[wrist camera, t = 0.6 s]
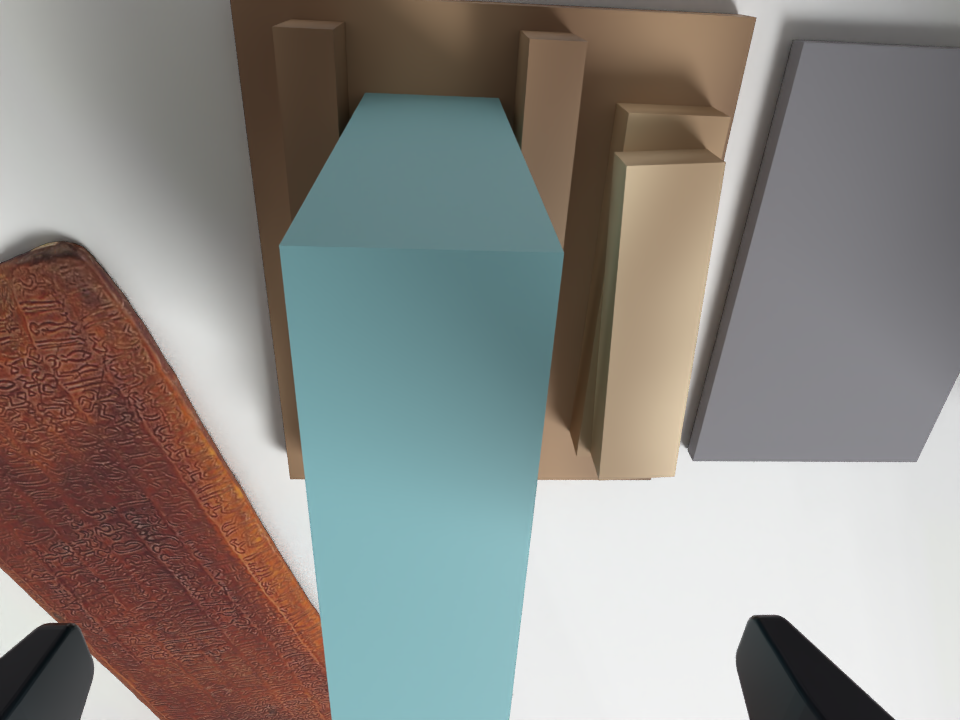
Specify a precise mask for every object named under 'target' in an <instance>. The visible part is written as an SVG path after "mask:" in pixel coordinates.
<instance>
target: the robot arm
mask: <svg viewBox="0 0 960 720" xmlns="http://www.w3.org/2000/svg"><path fill="white" fill-rule="evenodd" d="M736 667H737V672H738V676H739V680H740V684H741V688H742V692H743V696H744V699H745V703H746V707H747V711H748V715H749V719H750V720H895V719H894V718H893V717H892V716H891V715H889V714H888V713H887V712H886V711H885V710H884V709H883V708H882V707H881V706H880V705H879V704H878V703H876V702H875V701H874V700H873V699H872V698H871V697H870V696H869V695H868V694H867V693H866V692H865V691H863V690H862V689H861V688H860V687H859V686H858V685H857V684H856V683H855V682H854V681H853V680H852V679H850V678H849V677H848V676H847V675H846V674H845V673H844V672H843V671H842V670H841V669H840V668H839V667H837V666H836V665H835V664H834V663H833V662H832V661H831V660H830V659H829V658H828V657H827V656H826V655H824V654H823V653H822V652H821V651H820V650H819V649H818V648H817V647H816V646H815V645H814V644H812V643H811V642H810V641H809V640H808V639H807V638H806V637H805V636H804V635H803V634H802V633H801V632H799V631H798V630H797V629H796V628H795V627H794V626H793V625H792V624H791V623H790V622H789V621H787V620H786V619H785V618H783V617H781V616H779V615H754V616H752V617H751V618H749V620H748V622H747V624H746V627H745V630H744V633H743V635H742V638H741V641H740V643H739V646H738V649H737V653H736ZM93 674H94V663H93V659H92V656H91V654H90V651H89V649H88V646H87V644H86V641H85V639H84V636H83V634H82V631H81V629H80V627H79V626H78V625H76V624H75V623H47V624H43V625H41V626H39V627H38V628H36V629H35V630H33V631H32V632H31V633H30V634H29V635H27V636H26V637H25V638H24V639H23V640H21V641H20V642H19V643H18V644H17V645H15V646H14V647H13V648H12V649H11V650H9V651H8V652H7V653H6V654H5V655H3V656H2V657H1V658H0V720H80V718H81V715H82V712H83V709H84V706H85V702H86V699H87V696H88V693H89V690H90V686H91V683H92V680H93Z"/></svg>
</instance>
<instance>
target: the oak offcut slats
mask: <svg viewBox="0 0 960 720" xmlns="http://www.w3.org/2000/svg"><path fill="white" fill-rule="evenodd" d="M730 119H731V117H730V116H728V115H726V114H724V113H723V112H721V111H719V110H717V109H715V108H713V107H704V106H680V105H655V104H631V103H617V104H616V111H615V118H614V125H613V132H612V139H611V146H610V153H609V160H608V167H607V174H606V181H605V188H604V195H603V202H602V209H601V216H600V223H599V230H598V237H597V244H596V251H595V258H594V265H593V272H592V279H591V286H590V293H589V300H588V307H587V314H586V321H585V328H584V335H583V342H582V349H581V356H580V363H579V370H578V377H577V384H576V391H575V398H574V405H573V412H572V419H571V426H570V435H571V438H572V442H573V446H574V449H575V453H576V456H577V457H592V459H593V463H594V466H595V469H596V473H597V476H598V479H599V480H617V479H636V478H656V477H674V476H675V470H676V464H677V458H678V452H679V446H680V439H681V433H682V427H683V421H684V415H685V409H686V403H687V397H688V390H689V384H690V378H691V372H692V366H693V360H694V354H695V347H696V341H697V335H698V329H699V323H700V317H701V311H702V305H703V298H704V292H705V286H706V280H707V274H708V268H709V262H710V256H711V249H712V243H713V237H714V231H715V225H716V219H717V213H718V206H719V200H720V194H721V188H722V182H723V176H724V170H725V164H726V162H724V161H723V160H722V159H721V158H722V154H723V150H724V145H725V141H726V136H727V132H728V128H729V123H730Z"/></svg>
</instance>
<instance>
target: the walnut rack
mask: <svg viewBox="0 0 960 720" xmlns="http://www.w3.org/2000/svg"><path fill="white" fill-rule="evenodd" d="M230 3H231V11H232V19H233V27H234V35H235V43H236V51H237V59H238V67H239V75H240V83H241V91H242V99H243V107H244V115H245V123H246V131H247V139H248V147H249V155H250V163H251V171H252V179H253V187H254V194H255V202H256V210H257V218H258V226H259V234H260V242H261V250H262V258H263V266H264V274H265V282H266V290H267V298H268V306H269V314H270V322H271V330H272V338H273V346H274V354H275V362H276V370H277V378H278V385H279V393H280V401H281V409H282V417H283V425H284V433H285V441H286V449H287V457H288V465H289V473H290V479H305V474H304V465H303V456H302V447H301V438H300V429H299V420H298V411H297V402H296V393H295V384H294V375H293V366H292V357H291V348H290V339H289V330H288V321H287V312H286V303H285V294H284V285H283V276H282V267H281V258H280V249H279V245H280V243H281V241H282V240H283V238H284V236H285V234H286V232H287V231H288V229H289V227H290V225H291V224H292V222H293V220H294V218H295V216H296V215H297V213H298V211H299V209H300V208H301V206H302V204H303V202H304V200H305V199H306V197H307V195H308V193H309V192H310V190H311V188H312V186H313V184H314V183H315V181H316V179H317V177H318V176H319V174H320V172H321V170H322V168H323V167H324V165H325V163H326V161H327V160H328V158H329V156H330V154H331V152H332V151H333V149H334V147H335V145H336V144H337V142H338V140H339V138H340V137H341V135H342V133H343V131H344V129H345V128H346V126H347V124H348V122H349V121H350V119H351V117H352V115H353V113H354V112H355V110H356V108H357V106H358V105H359V103H360V101H361V99H362V97H363V96H364V94H365V93H387V94H411V95H436V96H460V97H484V98H499V100H500V102H501V105H502V107H503V109H504V112H505V114H506V117H507V119H508V121H509V124H510V126H511V128H512V131H513V133H514V135H515V138H516V140H517V143H518V145H519V147H520V150H521V152H522V154H523V157H524V159H525V161H526V164H527V166H528V169H529V171H530V173H531V176H532V178H533V180H534V183H535V185H536V187H537V190H538V192H539V195H540V197H541V199H542V202H543V204H544V206H545V209H546V211H547V214H548V216H549V218H550V221H551V223H552V225H553V228H554V230H555V232H556V235H557V237H558V240H559V242H560V244H561V247H562V249H563V251H564V258H563V266H562V275H561V283H560V292H559V300H558V309H557V317H556V326H555V334H554V343H553V351H552V360H551V368H550V377H549V385H548V394H547V402H546V411H545V419H544V428H543V436H542V445H541V453H540V462H539V470H538V479H537V480H599V479H598V476H597V473H596V469H595V466H594V463H593V459H592V457H577V456H576V453H575V449H574V446H573V442H572V438H571V435H570V426H571V419H572V412H573V405H574V398H575V391H576V384H577V377H578V370H579V363H580V356H581V349H582V342H583V335H584V328H585V321H586V314H587V307H588V300H589V293H590V286H591V279H592V272H593V265H594V258H595V251H596V244H597V237H598V230H599V223H600V216H601V209H602V202H603V195H604V188H605V181H606V174H607V167H608V160H609V153H610V146H611V139H612V132H613V125H614V118H615V111H616V104H617V103H631V104H655V105H680V106H704V107H713V108H715V109H717V110H719V111H721V112H723V113H724V114H726V115H728V116H730V117H731V119H730V123H729V128H728V132H727V136H726V141H725V145H724V150H723V154H722V158H721V159H722V160H723V161H724V157H725V152H726V148H727V144H728V139H729V135H730V131H731V126H732V122H733V118H734V113H735V109H736V104H737V100H738V96H739V91H740V87H741V83H742V78H743V74H744V70H745V65H746V61H747V56H748V52H749V48H750V43H751V39H752V35H753V30H754V26H755V22H756V17H751V16H745V15H740V14H720V13H700V12H681V11H661V10H641V9H621V8H602V7H582V6H562V5H542V4H523V3H503V2H483V1H464V0H230ZM617 480H651V478H636V479H617Z"/></svg>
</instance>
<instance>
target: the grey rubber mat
mask: <svg viewBox="0 0 960 720" xmlns="http://www.w3.org/2000/svg"><path fill="white" fill-rule="evenodd" d="M959 373H960V48H953V47H932V46H911V45H890V44H870V43H849V42H828V41H808V40H793V43H792V46H791V50H790V54H789V58H788V62H787V66H786V70H785V74H784V78H783V81H782V85H781V89H780V93H779V97H778V101H777V105H776V109H775V112H774V116H773V120H772V124H771V128H770V132H769V136H768V140H767V143H766V147H765V151H764V155H763V159H762V163H761V167H760V171H759V174H758V178H757V182H756V186H755V190H754V194H753V198H752V202H751V205H750V209H749V213H748V217H747V221H746V225H745V229H744V233H743V237H742V240H741V244H740V248H739V252H738V256H737V260H736V264H735V268H734V271H733V275H732V279H731V283H730V287H729V291H728V295H727V299H726V302H725V306H724V310H723V314H722V318H721V322H720V326H719V330H718V333H717V337H716V341H715V345H714V349H713V353H712V357H711V361H710V365H709V368H708V372H707V376H706V380H705V384H704V388H703V392H702V396H701V399H700V403H699V407H698V411H697V415H696V419H695V423H694V427H693V430H692V434H691V438H690V442H689V446H688V452H689V454H690V456H691V458H692V460H693V461H802V462H917V460H918V458H919V456H920V453H921V451H922V449H923V447H924V445H925V443H926V441H927V439H928V437H929V435H930V433H931V431H932V429H933V427H934V424H935V422H936V420H937V418H938V416H939V414H940V412H941V410H942V408H943V406H944V404H945V402H946V400H947V397H948V395H949V393H950V391H951V389H952V387H953V385H954V383H955V381H956V379H957V377H958V375H959Z"/></svg>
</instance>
